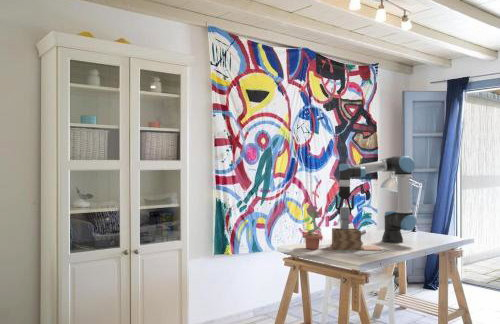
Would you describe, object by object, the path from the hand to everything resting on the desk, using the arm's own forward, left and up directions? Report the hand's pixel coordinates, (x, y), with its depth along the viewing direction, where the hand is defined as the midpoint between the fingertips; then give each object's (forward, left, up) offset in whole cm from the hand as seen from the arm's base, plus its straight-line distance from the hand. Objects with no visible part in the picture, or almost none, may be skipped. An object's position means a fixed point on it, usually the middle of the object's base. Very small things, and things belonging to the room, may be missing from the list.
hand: (344, 219), depth 303 cm
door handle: (-9, -19, -21) cm, 30 cm away
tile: (-18, 0, -20) cm, 27 cm away
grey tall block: (0, 0, -12) cm, 12 cm away
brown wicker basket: (-1, 0, -20) cm, 20 cm away
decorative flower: (+22, +3, -20) cm, 30 cm away
